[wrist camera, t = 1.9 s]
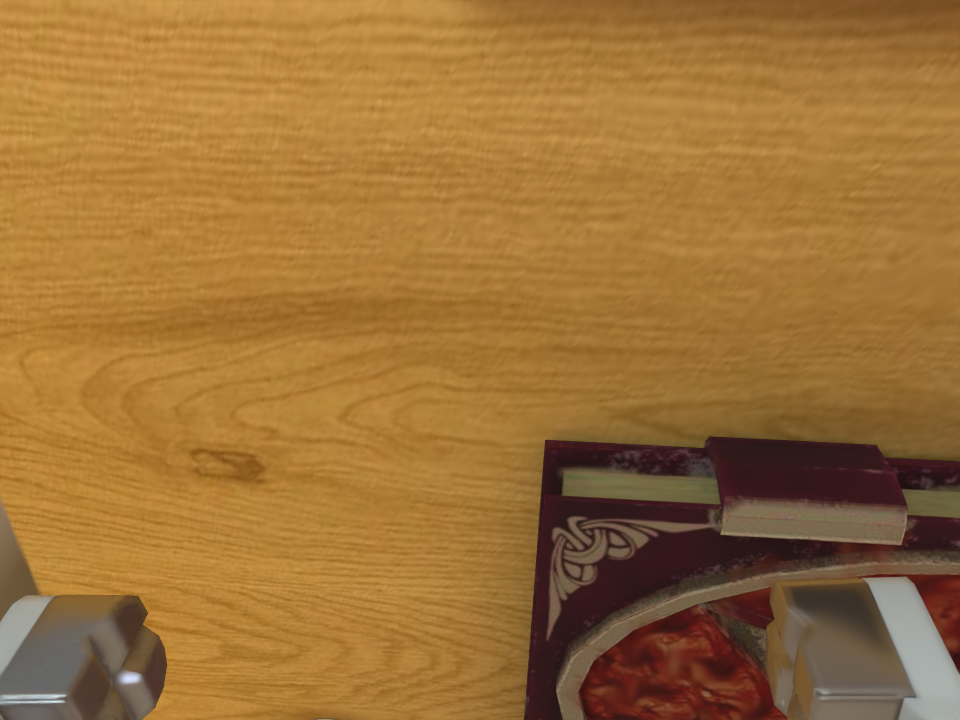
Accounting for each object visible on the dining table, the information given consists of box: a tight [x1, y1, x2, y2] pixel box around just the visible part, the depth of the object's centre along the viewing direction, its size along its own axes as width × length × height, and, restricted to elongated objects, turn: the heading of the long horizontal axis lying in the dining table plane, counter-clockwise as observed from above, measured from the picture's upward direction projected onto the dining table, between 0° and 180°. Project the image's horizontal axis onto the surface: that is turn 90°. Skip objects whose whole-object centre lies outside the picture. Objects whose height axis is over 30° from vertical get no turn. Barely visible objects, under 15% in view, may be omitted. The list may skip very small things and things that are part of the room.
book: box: [524, 436, 960, 720], centre depth 32 cm, size 28×21×5 cm
